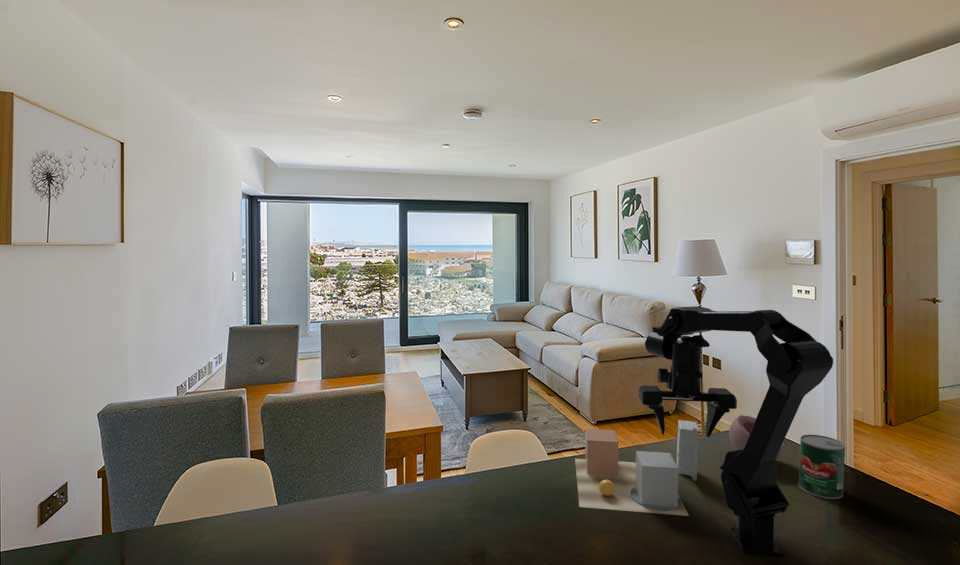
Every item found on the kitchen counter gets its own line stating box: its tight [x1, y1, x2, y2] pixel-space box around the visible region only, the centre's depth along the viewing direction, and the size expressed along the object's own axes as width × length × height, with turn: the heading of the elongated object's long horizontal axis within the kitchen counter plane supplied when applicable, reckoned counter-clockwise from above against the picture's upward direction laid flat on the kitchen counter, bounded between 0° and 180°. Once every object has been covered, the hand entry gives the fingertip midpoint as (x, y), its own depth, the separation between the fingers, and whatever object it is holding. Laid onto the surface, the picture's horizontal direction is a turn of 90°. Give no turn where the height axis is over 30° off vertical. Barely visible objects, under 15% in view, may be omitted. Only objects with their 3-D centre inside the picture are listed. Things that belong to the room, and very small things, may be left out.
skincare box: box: [675, 419, 700, 482], centre depth 107 cm, size 6×4×12 cm
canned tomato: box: [797, 434, 846, 500], centre depth 99 cm, size 8×8×11 cm
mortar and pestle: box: [728, 414, 786, 461], centre depth 113 cm, size 12×12×12 cm
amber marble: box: [599, 480, 615, 496], centre depth 96 cm, size 3×3×3 cm
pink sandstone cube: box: [584, 428, 619, 476], centre depth 108 cm, size 7×7×8 cm
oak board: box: [574, 458, 690, 517], centre depth 101 cm, size 22×21×2 cm
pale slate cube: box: [635, 450, 679, 507], centre depth 95 cm, size 7×7×8 cm
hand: (684, 435), depth 98 cm, fingers open, 9 cm apart
